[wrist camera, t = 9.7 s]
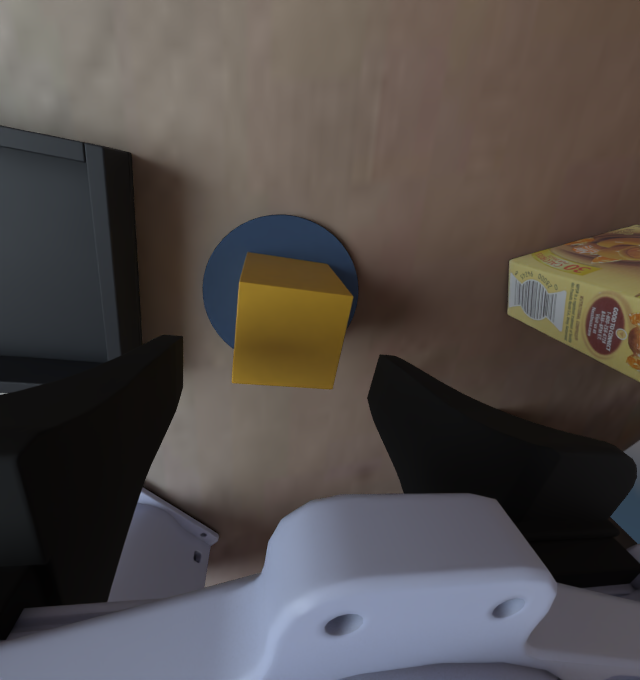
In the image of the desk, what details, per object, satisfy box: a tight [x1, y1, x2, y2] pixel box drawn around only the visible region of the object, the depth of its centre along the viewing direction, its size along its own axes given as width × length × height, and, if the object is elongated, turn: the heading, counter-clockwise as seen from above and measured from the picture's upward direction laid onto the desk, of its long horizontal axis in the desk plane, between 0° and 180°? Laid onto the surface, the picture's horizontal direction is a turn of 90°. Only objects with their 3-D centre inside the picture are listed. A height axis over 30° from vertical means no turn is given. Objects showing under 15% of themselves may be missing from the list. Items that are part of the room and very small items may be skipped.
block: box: [232, 252, 353, 389], centre depth 16 cm, size 4×4×6 cm
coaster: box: [203, 215, 358, 349], centre depth 19 cm, size 9×9×1 cm
